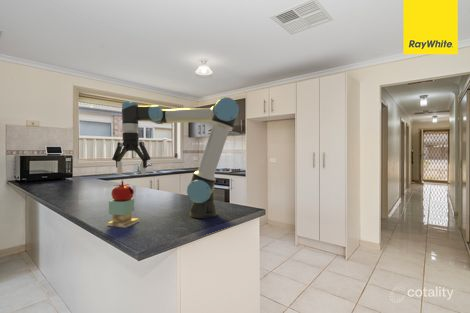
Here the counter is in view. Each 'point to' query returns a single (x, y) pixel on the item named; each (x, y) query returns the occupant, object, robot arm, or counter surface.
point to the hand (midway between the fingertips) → (131, 174)
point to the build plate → (133, 220)
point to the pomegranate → (122, 192)
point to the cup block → (121, 207)
